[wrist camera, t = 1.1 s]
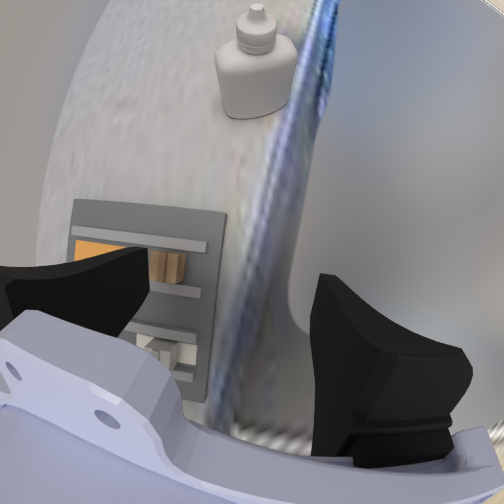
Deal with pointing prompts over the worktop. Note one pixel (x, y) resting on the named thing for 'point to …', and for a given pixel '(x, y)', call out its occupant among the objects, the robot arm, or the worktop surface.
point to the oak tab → (167, 267)
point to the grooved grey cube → (164, 352)
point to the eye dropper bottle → (255, 66)
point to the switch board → (164, 294)
